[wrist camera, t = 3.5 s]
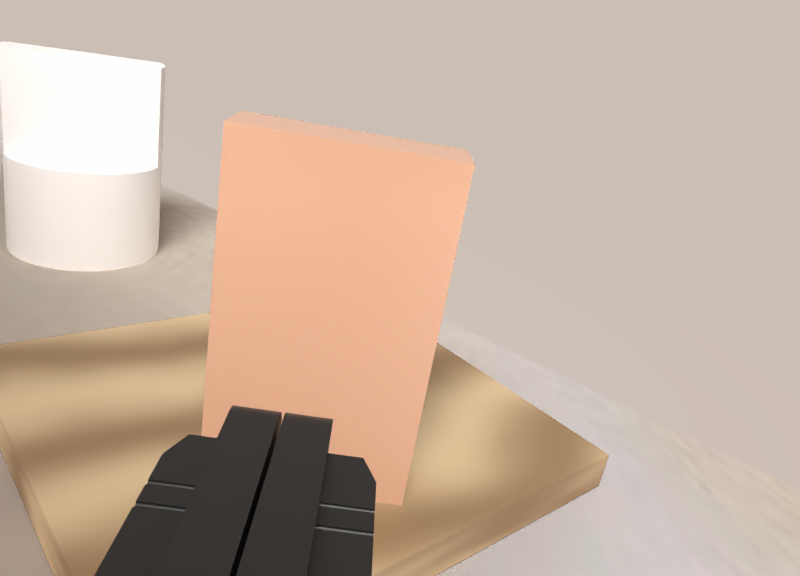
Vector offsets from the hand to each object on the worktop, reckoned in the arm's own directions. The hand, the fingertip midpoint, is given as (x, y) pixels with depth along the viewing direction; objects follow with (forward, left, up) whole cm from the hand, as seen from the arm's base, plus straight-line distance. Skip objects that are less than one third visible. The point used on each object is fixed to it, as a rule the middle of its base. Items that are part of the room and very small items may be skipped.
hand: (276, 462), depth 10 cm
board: (-13, +9, -10) cm, 19 cm away
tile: (-9, +7, -9) cm, 14 cm away
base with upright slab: (-37, +8, -11) cm, 39 cm away
